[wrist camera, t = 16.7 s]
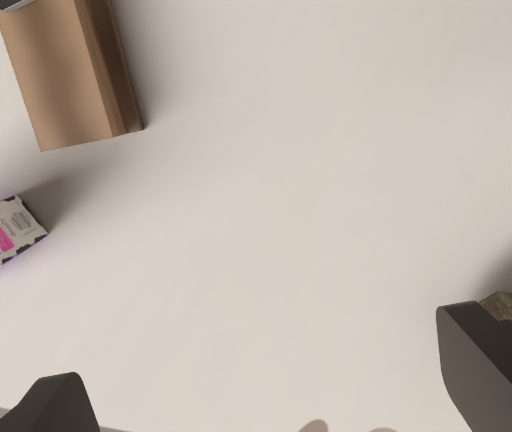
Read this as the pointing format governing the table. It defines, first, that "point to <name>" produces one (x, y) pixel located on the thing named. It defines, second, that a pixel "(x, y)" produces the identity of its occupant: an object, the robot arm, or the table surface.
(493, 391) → the robot arm
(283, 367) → the table surface
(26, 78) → the walnut ridge
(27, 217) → the candy box
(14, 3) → the vintage mobile phone
